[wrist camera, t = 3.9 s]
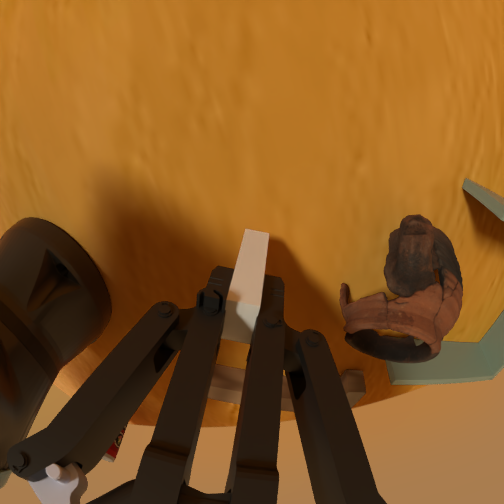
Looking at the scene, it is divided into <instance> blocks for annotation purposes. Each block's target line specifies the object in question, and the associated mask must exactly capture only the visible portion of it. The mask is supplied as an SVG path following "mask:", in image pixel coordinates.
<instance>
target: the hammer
mask: <svg viewBox="0 0 504 504" xmlns="http://www.w3.org/2000/svg"><path fill="white" fill-rule="evenodd" d="M245 371H246V370H244V369H239V368H233V367H228V366H223V365H218V364H215V368H214V373H213V377H212V381H211V385H210V389H209V394H208V398H210V399H214V400H219V401H224V402H229V403H235V404H240V403H241V396H242V390H243V384H244V378H245ZM340 379H341V382H342V384H343V387H344V390H345V393H346V396H347V399H348V401H349V404H350V407H351V408H352V407H353V406H354V405H355V404H356V403H357V402H358V401H359V400H360V399H361V398H362V396H363V395H364V394H365V393H366V389H365V382H364V376H363V371H360V370H347V369H346V370H345V372H344V373H343V375H342V376H341V377H340ZM281 410H283V411H292V412H294V408H293V404H292V400H291V396H290V391H289V387H288V383H287V379H286V376H283V384H282V400H281Z"/></svg>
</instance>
